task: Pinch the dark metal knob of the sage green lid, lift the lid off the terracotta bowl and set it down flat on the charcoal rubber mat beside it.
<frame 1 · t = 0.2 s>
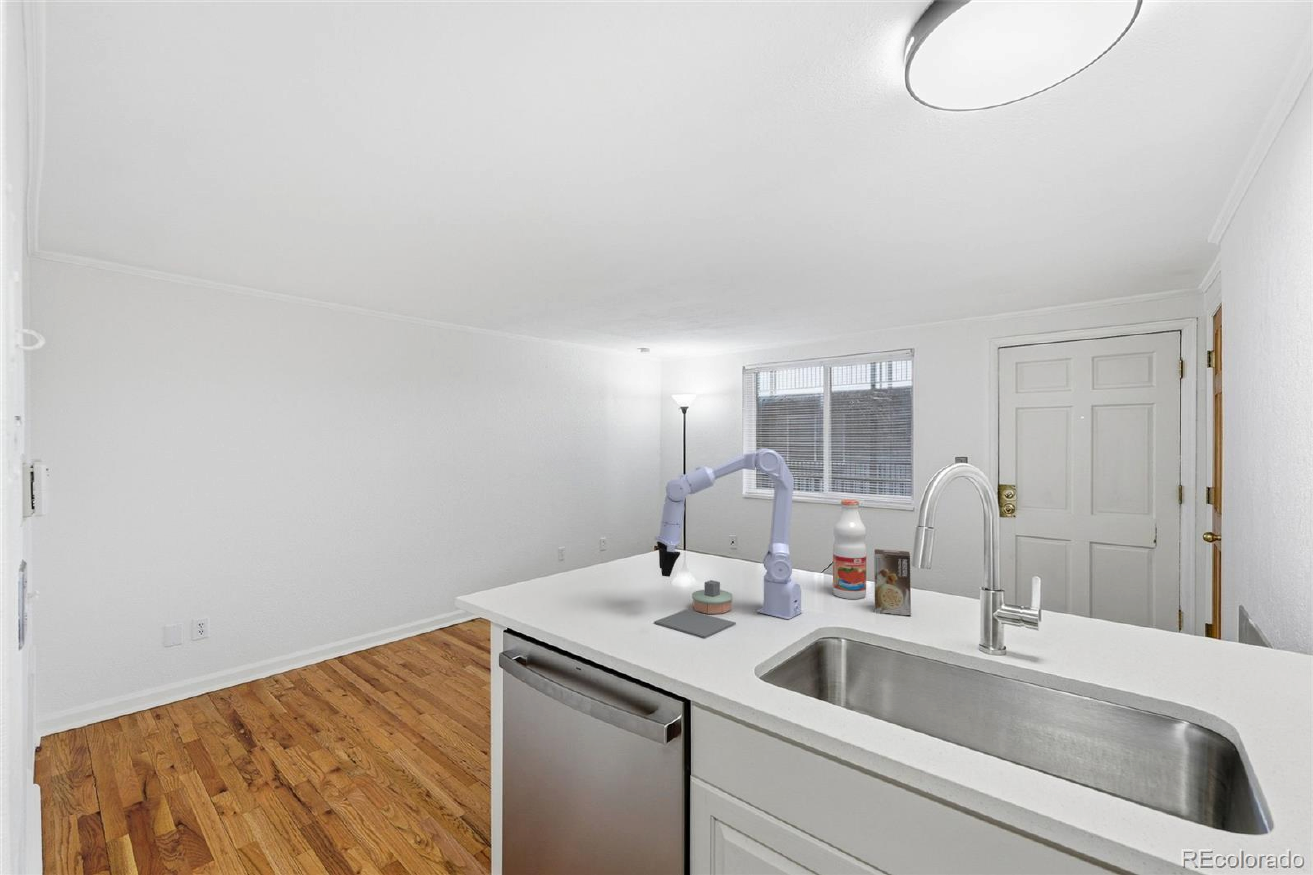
hand: (664, 572, 159), 11 cm above the worktop, tool pointing down, fingers open, 7 cm apart
bowl: (712, 608, 162), on the worktop
coffee box: (892, 612, 159), on the worktop
fruit juice: (849, 595, 174), on the worktop
lid: (712, 597, 162), point 3 cm above the worktop, touching bowl
mat: (694, 623, 149), on the worktop
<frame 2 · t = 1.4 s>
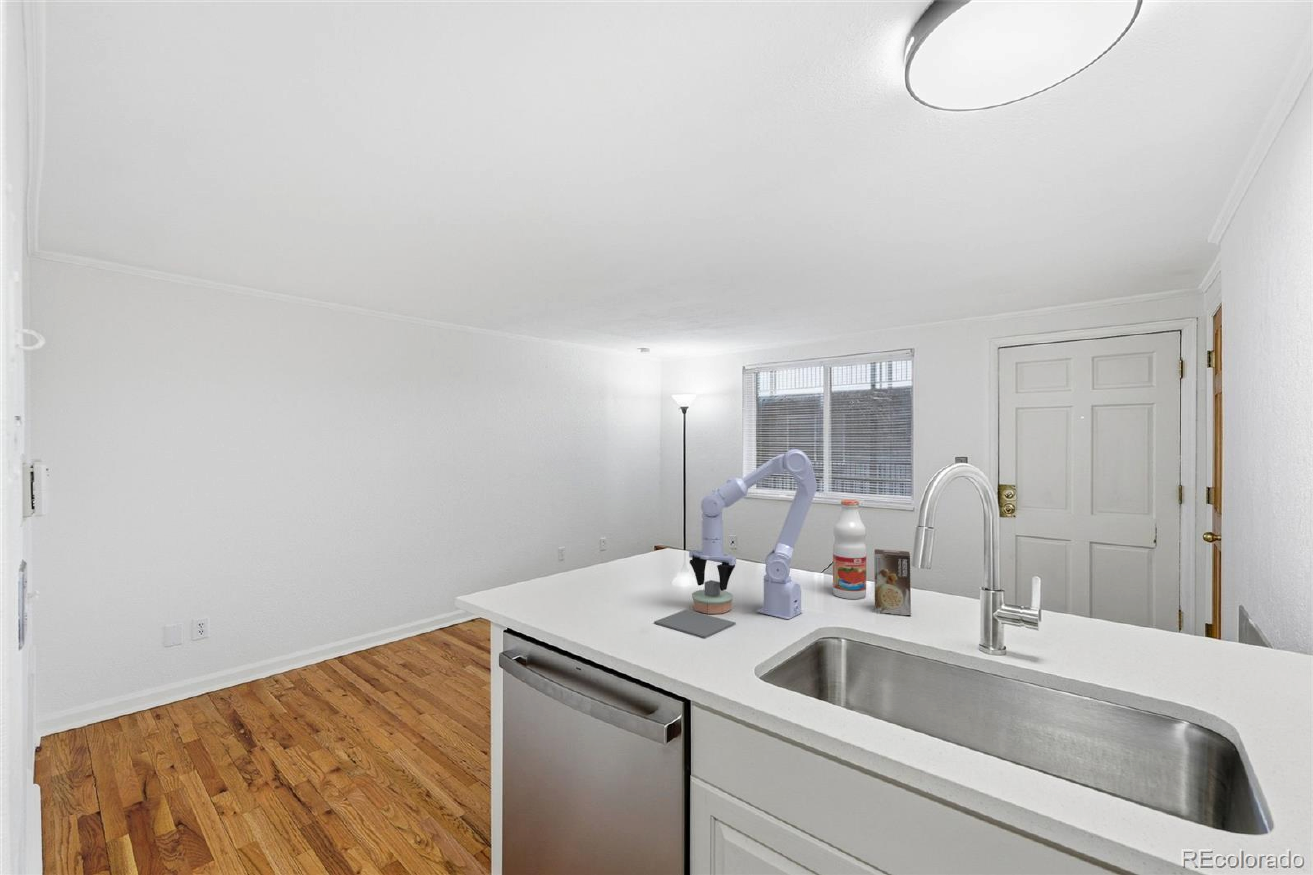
hand: (711, 587, 162), 6 cm above the worktop, tool pointing down, fingers open, 7 cm apart
nothing on the worktop moved.
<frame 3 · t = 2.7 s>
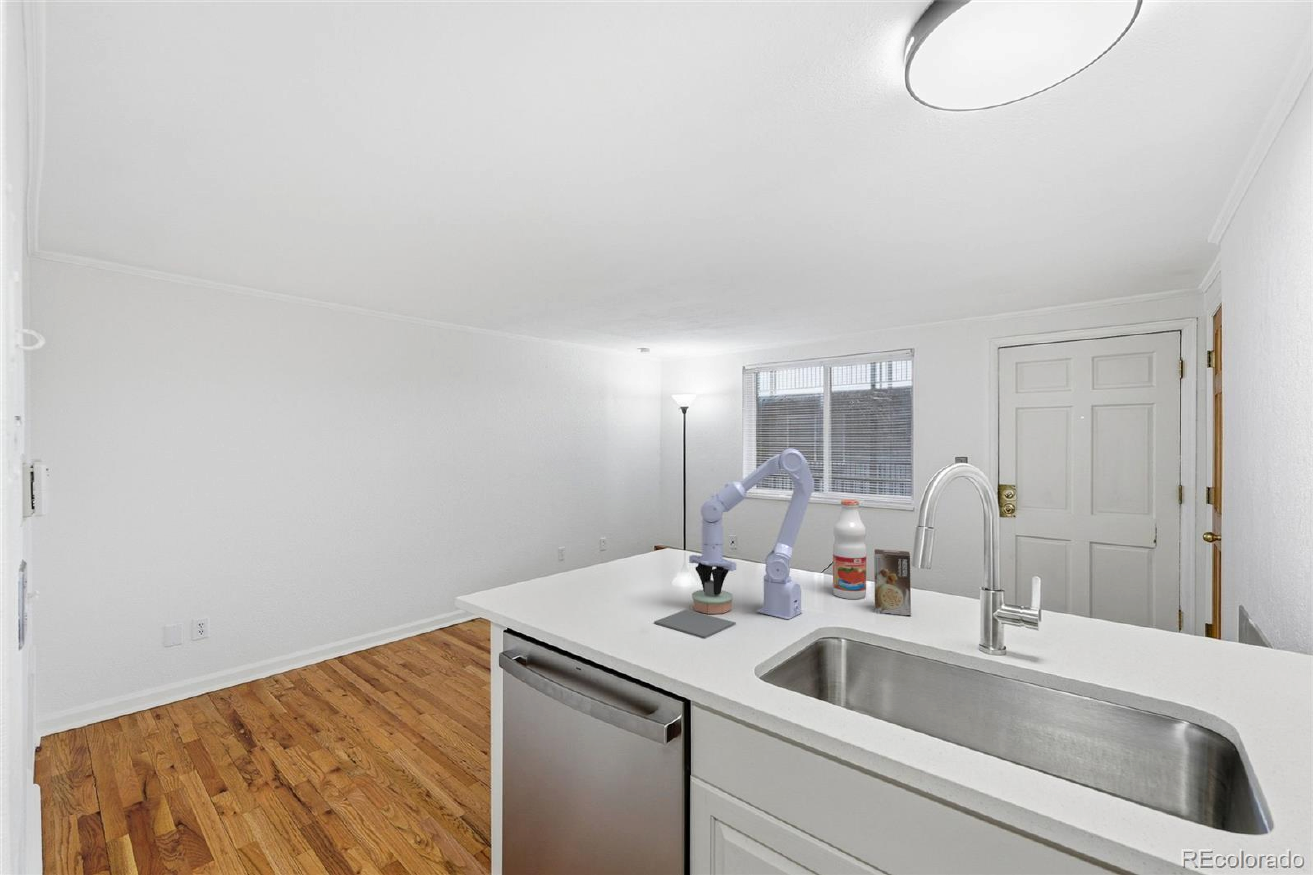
hand: (712, 592, 162), 4 cm above the worktop, tool pointing down, fingers closed on lid, 3 cm apart
lid: (712, 597, 162), point 3 cm above the worktop, touching bowl, gripper
everything else where it was.
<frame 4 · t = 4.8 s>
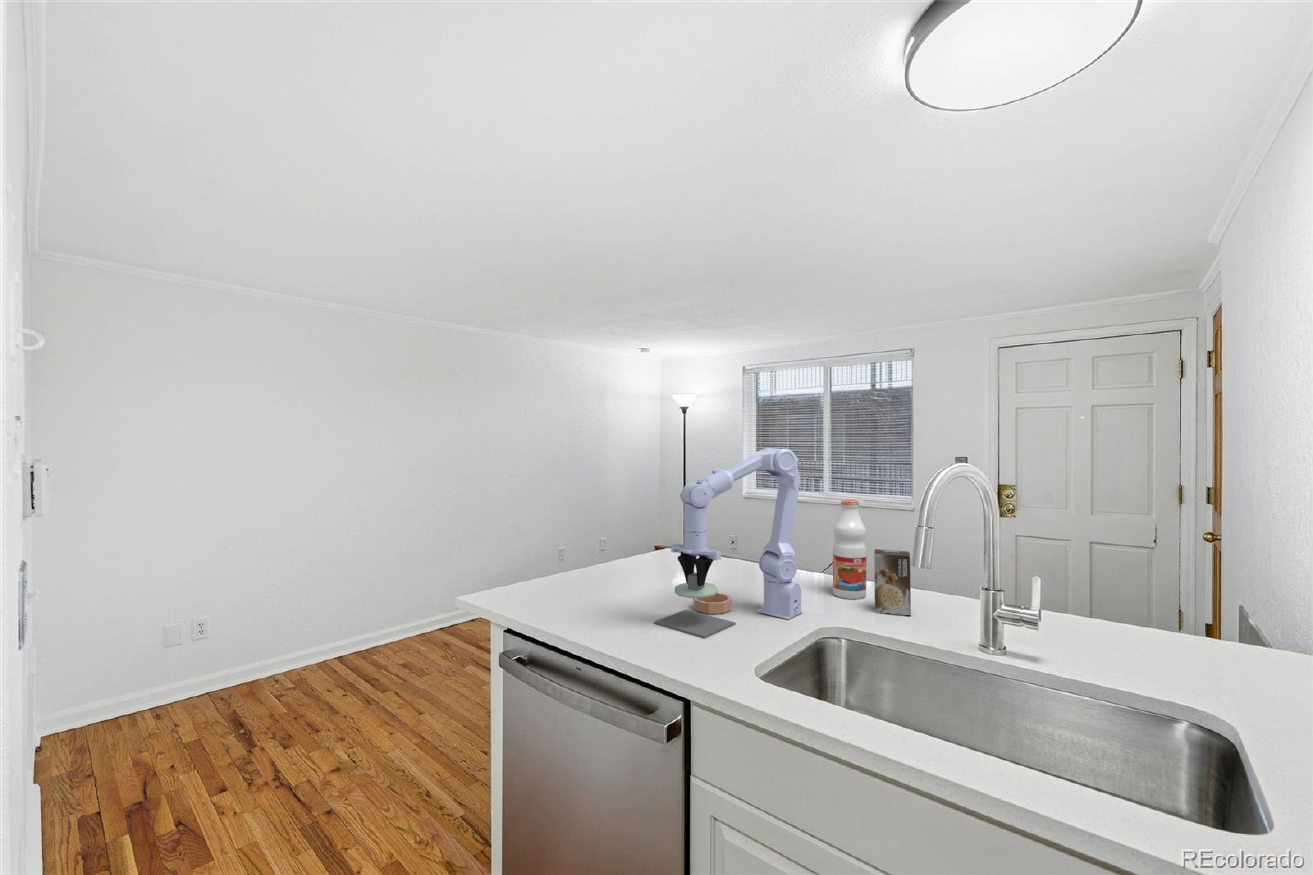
hand: (695, 584, 150), 10 cm above the worktop, tool pointing down, fingers closed on lid, 3 cm apart
lid: (696, 591, 150), point 8 cm above the worktop, touching gripper
everything else where it was.
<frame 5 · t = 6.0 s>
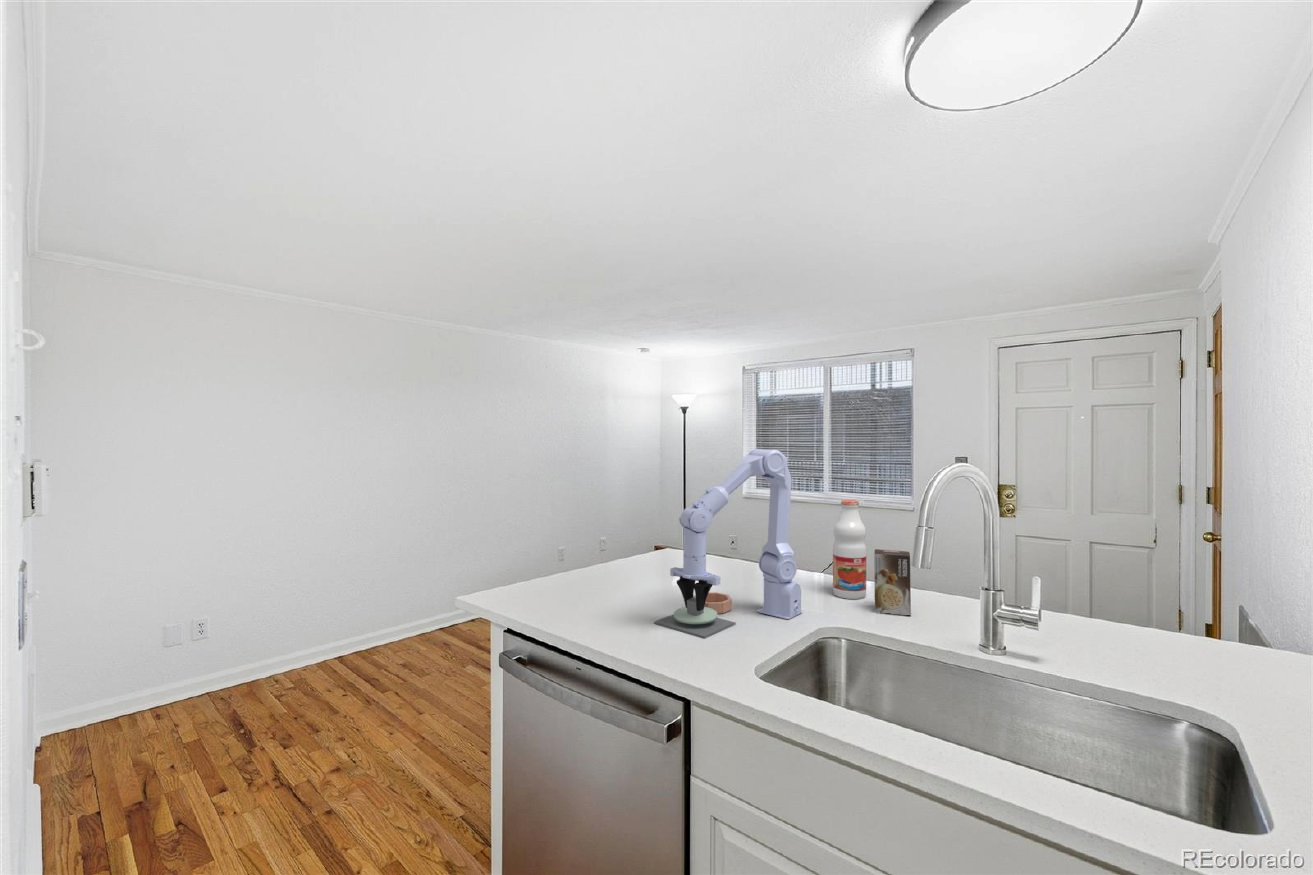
hand: (694, 608, 149), 4 cm above the worktop, tool pointing down, fingers closed on lid, 3 cm apart
lid: (695, 616, 150), point 2 cm above the worktop, touching gripper
everything else where it was.
when the fingers open (4 cm above the worktop, at t = 6.8 s): lid stays where it is, resting on mat.
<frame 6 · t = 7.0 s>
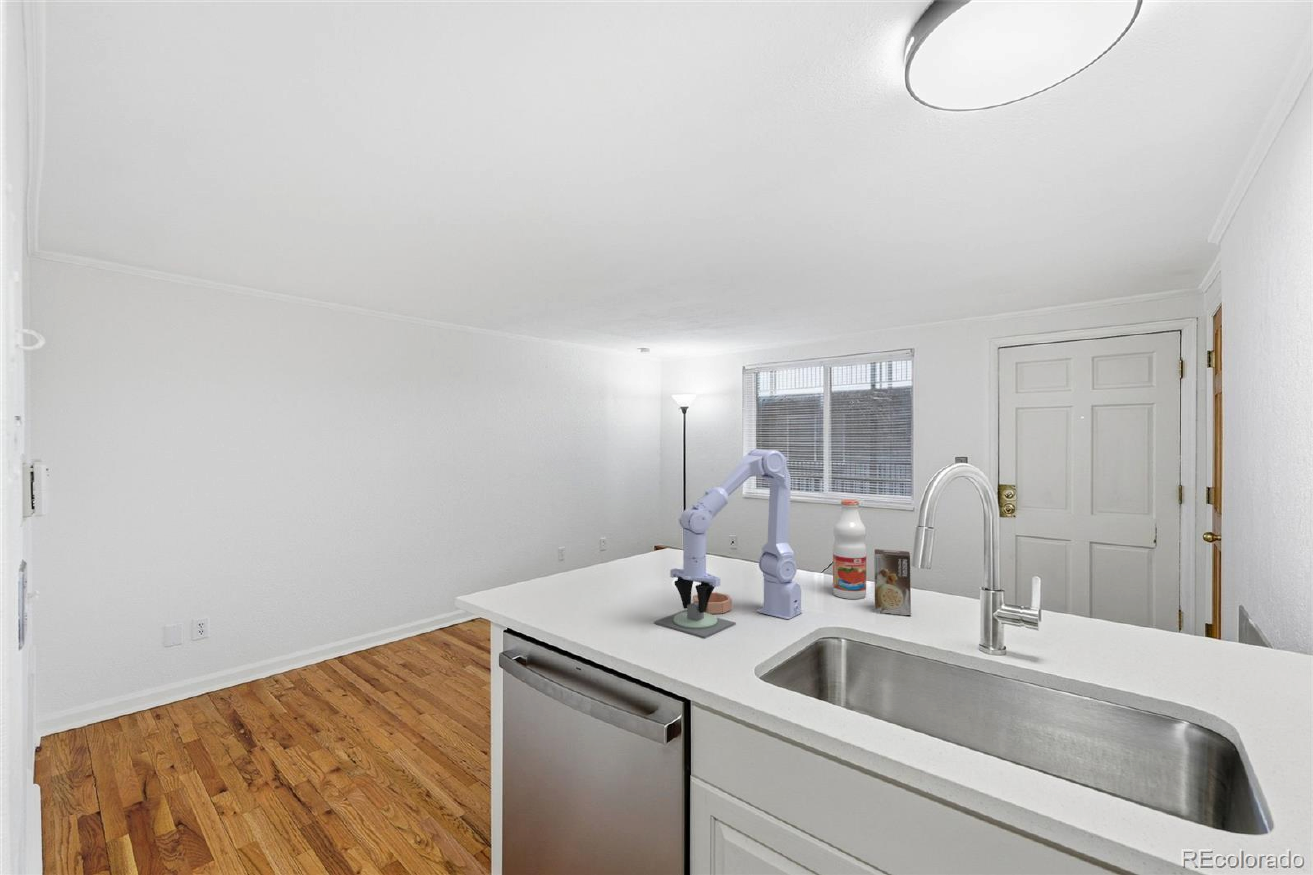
hand: (694, 609, 149), 4 cm above the worktop, tool pointing down, fingers open, 4 cm apart
lid: (695, 621, 150), point 1 cm above the worktop, touching mat
everything else where it was.
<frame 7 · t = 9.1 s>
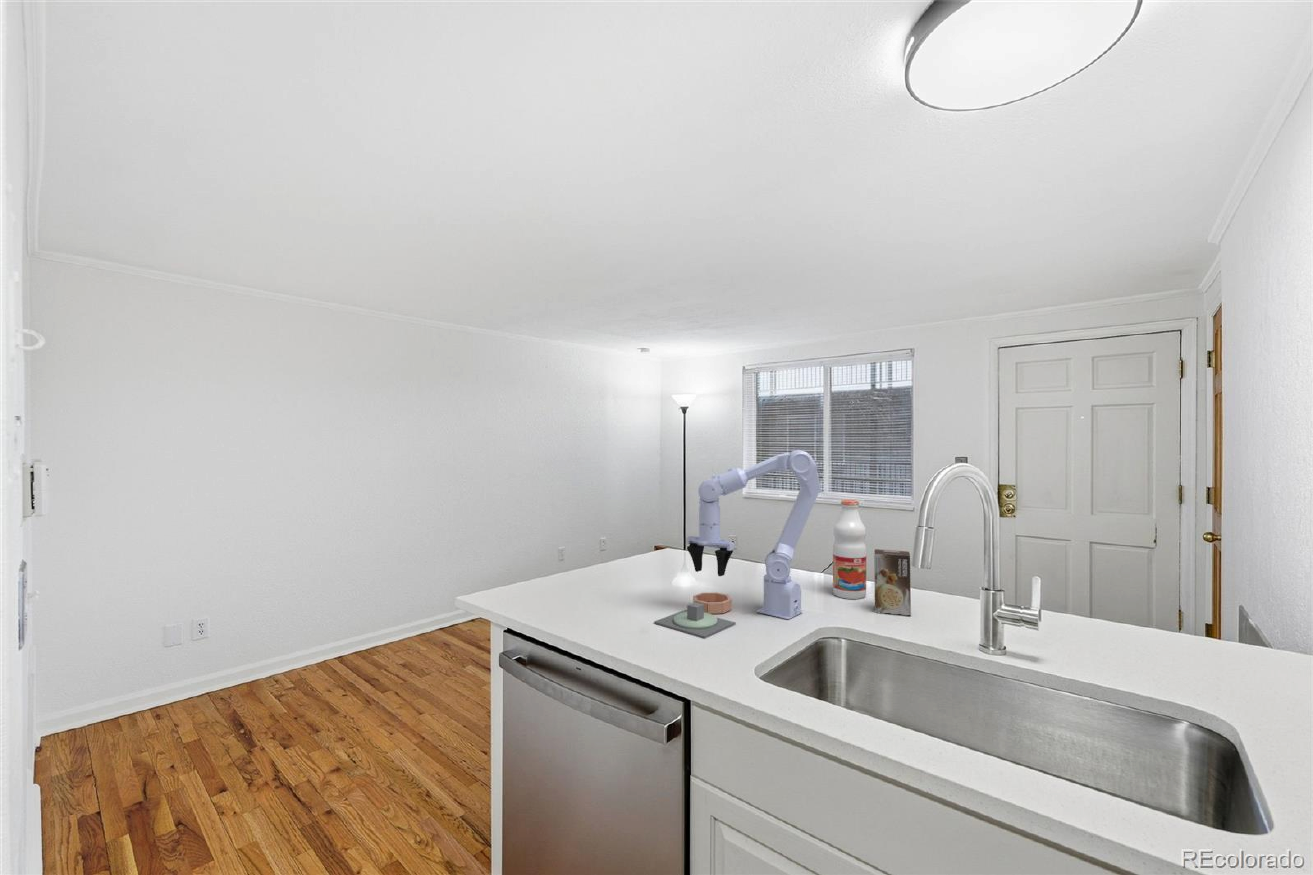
hand: (709, 573, 161), 10 cm above the worktop, tool pointing down, fingers open, 7 cm apart
nothing on the worktop moved.
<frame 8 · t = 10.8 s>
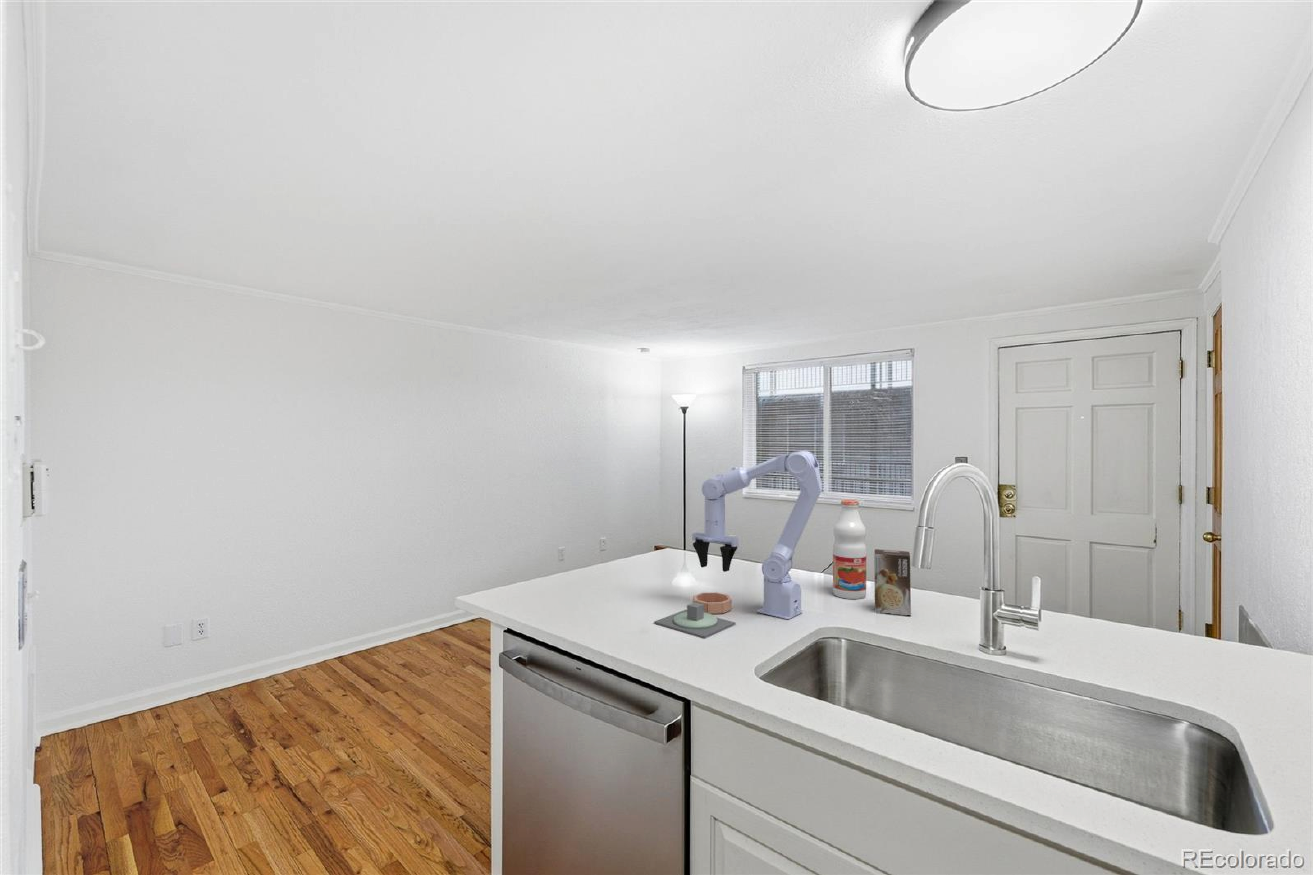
hand: (714, 568, 166), 10 cm above the worktop, tool pointing down, fingers open, 7 cm apart
nothing on the worktop moved.
at the end: lid inside the target area on the mat (0.3 cm from its centre), point 0.5 cm above the mat's base; lid touching mat; the gripper is holding nothing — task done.
